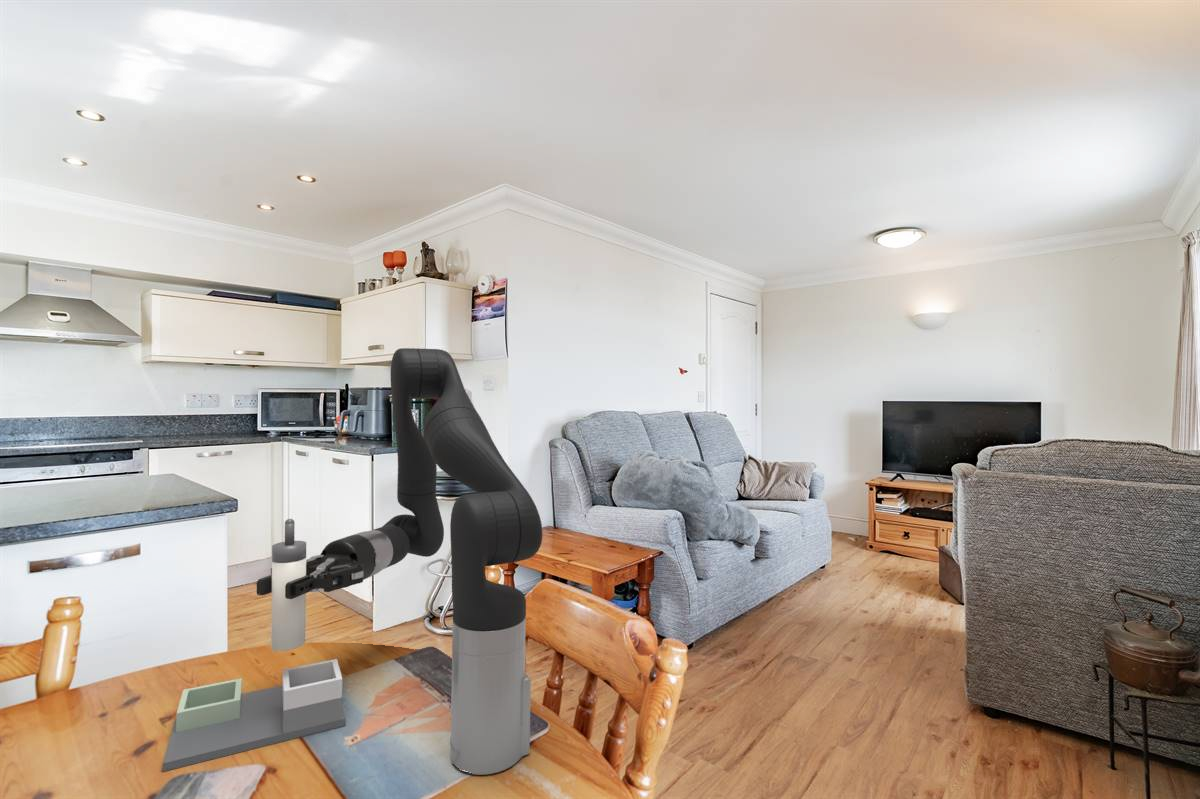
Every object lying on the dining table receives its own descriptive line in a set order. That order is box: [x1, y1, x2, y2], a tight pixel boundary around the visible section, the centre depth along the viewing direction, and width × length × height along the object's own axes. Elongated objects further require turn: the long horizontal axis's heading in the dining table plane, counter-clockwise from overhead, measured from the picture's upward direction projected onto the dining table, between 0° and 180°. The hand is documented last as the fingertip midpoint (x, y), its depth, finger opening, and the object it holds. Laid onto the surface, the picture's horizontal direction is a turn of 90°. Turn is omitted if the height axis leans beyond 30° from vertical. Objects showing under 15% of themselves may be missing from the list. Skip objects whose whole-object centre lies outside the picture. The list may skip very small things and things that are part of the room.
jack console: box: [162, 658, 347, 773], centre depth 79 cm, size 20×14×6 cm
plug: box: [270, 518, 307, 652], centre depth 79 cm, size 4×4×18 cm
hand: (273, 589), depth 76 cm, fingers closed on plug, 4 cm apart
